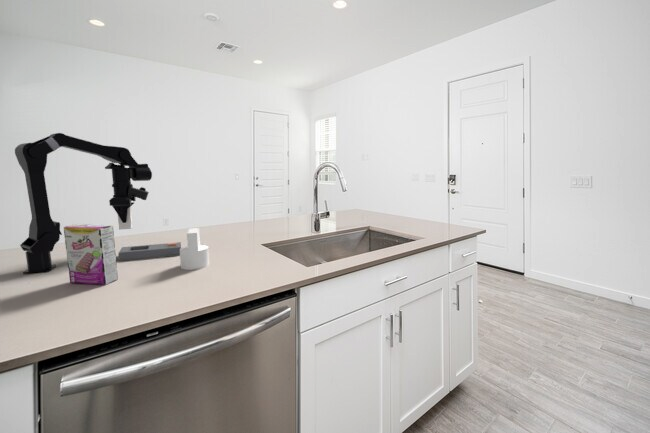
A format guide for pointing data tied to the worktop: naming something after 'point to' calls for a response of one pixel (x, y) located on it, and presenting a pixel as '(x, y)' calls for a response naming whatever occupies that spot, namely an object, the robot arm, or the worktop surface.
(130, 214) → the plug block
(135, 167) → the robot arm
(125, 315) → the worktop surface
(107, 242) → the candy bar box
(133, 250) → the grey board with hole
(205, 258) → the cylinder with rectangular tab
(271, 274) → the worktop surface
